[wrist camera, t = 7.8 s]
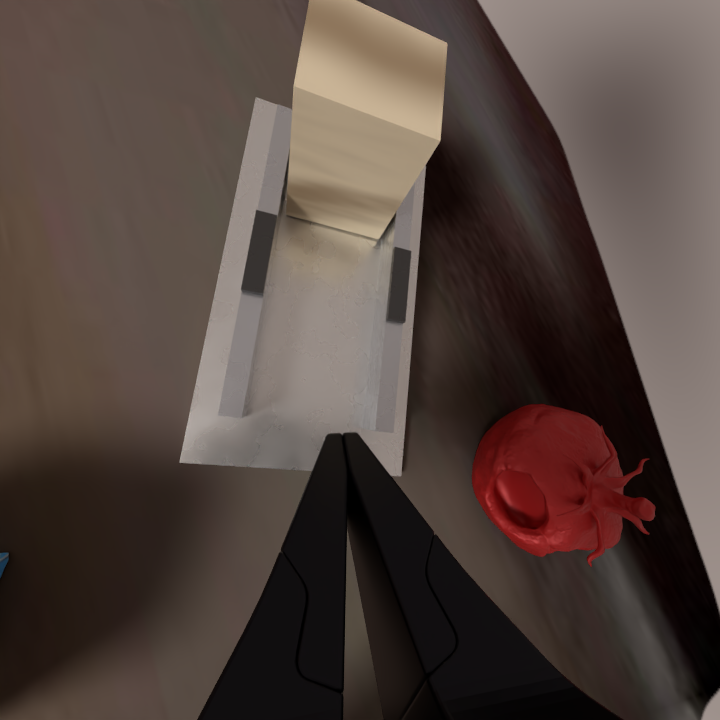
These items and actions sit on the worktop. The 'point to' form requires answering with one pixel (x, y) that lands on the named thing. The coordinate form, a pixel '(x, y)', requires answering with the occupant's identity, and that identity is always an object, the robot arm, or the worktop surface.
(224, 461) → the chute
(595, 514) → the pomegranate
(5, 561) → the ink box
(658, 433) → the worktop surface
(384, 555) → the robot arm
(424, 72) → the block
